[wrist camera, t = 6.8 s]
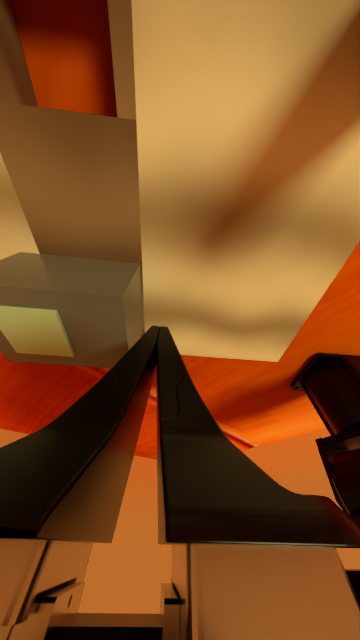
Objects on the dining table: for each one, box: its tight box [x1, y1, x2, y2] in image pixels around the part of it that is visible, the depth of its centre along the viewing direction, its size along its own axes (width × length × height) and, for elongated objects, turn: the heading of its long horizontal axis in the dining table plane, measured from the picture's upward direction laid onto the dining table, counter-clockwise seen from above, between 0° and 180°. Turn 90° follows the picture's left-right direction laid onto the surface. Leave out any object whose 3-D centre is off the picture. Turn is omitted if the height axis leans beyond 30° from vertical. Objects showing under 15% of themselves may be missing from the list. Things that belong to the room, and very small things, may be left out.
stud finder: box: [0, 252, 143, 368], centre depth 10 cm, size 5×7×4 cm
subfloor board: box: [0, 0, 360, 362], centre depth 10 cm, size 20×24×2 cm
